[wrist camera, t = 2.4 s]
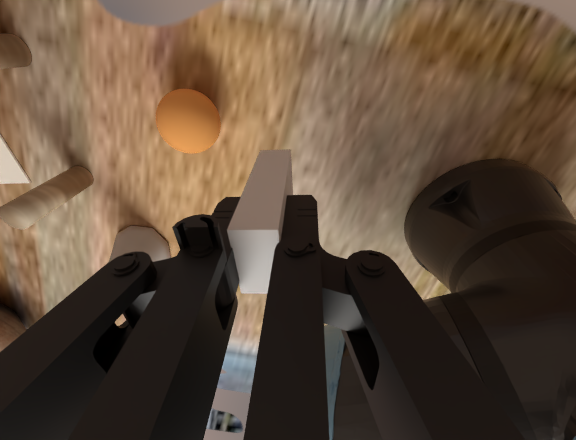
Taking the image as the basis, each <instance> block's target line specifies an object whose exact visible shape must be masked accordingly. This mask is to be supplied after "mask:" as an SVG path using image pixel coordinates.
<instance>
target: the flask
mask: <svg viewBox="0 0 576 440" xmlns="http://www.w3.org/2000/svg"><path fill="white" fill-rule="evenodd" d="M134 251H139V252H145V253H147V254H149V256H150V257H151V259H152V261H153V262H155V261H159V260H164V259H168V258H171V256H170V251H169V246H168V243H167V242H166V241H165V240H164V239H163V238H162V237H161V236H160V235H159V234H158V233H157V232H156V231H155V230H154V229H153V228H148V227H139V226H129V227H127V228H126V229H124V230H122V231H121V232H119V233H117V235H116V238H115V242H114V246H113V250H112V253H111V257H110V260H109V262H110V261H112V260H113V259H115V258H116V257H118V256H121V255H123V254H125V253H130V252H134Z"/></svg>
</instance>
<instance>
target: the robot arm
mask: <svg viewBox="0 0 576 440" xmlns="http://www.w3.org/2000/svg"><path fill="white" fill-rule="evenodd" d="M172 228H173V230H174V233H175V236H176V239H177V241H178V244H179V247H180V251H179V253H178V255H177V256H176V257H172V258H168V259H164V260H159V261H155V262H153V261H152V259H151V257H150V256H149V254H147V253H145V252H139V251H134V252H130V253H125V254H123V255H121V256H118V257H116V258H115V259H113V260H112V261H110V262H109V263H107V264H106V265H105V266H104V267H102V268H101V269H100V270H99V271H98V272H96V273H95V274H94V275H93V276H92V277H90V278H89V279H88V280H87V281H86V282H84V283H83V284H82V285H81V286H79V287H78V288H77V289H76V290H75V291H73V292H72V293H71V294H70V295H69V296H67V297H66V298H65V299H64V300H63V301H61V302H60V303H59V304H58V305H57V306H55V307H54V308H53V309H52V310H50V311H49V312H48V313H47V314H46V315H44V316H43V317H42V318H41V319H40V320H38V321H37V322H36V323H35V324H34V325H32V326H31V327H30V328H29V329H27V330H26V331H25V332H24V333H23V334H21V335H20V336H19V337H18V338H17V339H15V340H14V341H13V342H12V343H11V344H9V345H8V346H7V347H6V348H4V349H3V350H2V351H1V352H0V440H203V438H204V434H205V430H206V427H207V423H208V419H209V415H210V411H211V407H212V404H213V399H214V396H215V392H216V388H217V384H218V380H219V376H220V372H221V369H222V365H223V361H224V357H225V353H226V349H227V346H228V342H229V338H230V334H231V330H232V326H233V322H234V318H235V315H236V311H237V307H238V300H237V296H236V291H237V288H238V284H239V286H240V290H241V293H256V294H267V299H266V305H265V311H264V318H263V324H262V330H261V336H260V342H259V348H258V354H257V361H256V367H255V373H254V379H253V385H252V391H251V397H250V403H249V410H248V416H247V422H246V428H245V434H244V440H576V220H575V219H574V217H573V216H572V214H571V213H570V211H569V210H568V208H567V207H566V205H565V204H564V203H563V201H562V198H561V195H560V194H559V192H558V190H557V188H556V186H555V185H554V184H553V183H552V182H551V181H550V180H549V179H548V178H547V177H545V176H544V175H542V174H541V173H539V172H537V171H536V170H534V169H532V168H531V167H529V166H527V165H525V164H523V163H520V162H517V161H512V160H505V159H490V160H482V161H477V162H473V163H469V164H466V165H463V166H461V167H458V168H456V169H454V170H452V171H450V172H448V173H446V174H444V175H442V176H441V177H439V178H438V179H436V180H435V181H434V182H432V183H431V184H430V185H429V186H428V187H427V188H425V189H424V190H423V191H422V192H421V194H420V195H419V196H418V197H417V198H416V200H415V201H414V203H413V204H412V206H411V208H410V210H409V212H408V214H407V217H406V220H405V227H404V233H405V239H406V242H407V244H408V246H409V248H410V250H411V252H412V254H413V256H414V258H415V259H416V260H417V262H418V263H419V264H420V265H421V266H422V267H423V268H425V269H426V270H427V271H429V272H430V273H432V274H433V275H434V276H435V277H436V278H437V279H438V280H439V281H440V282H441V283H443V284H444V285H445V286H446V287H447V288H448V289H449V290H450V291H451V293H450V294H446V295H442V296H438V297H433V298H430V299H426V300H422V298H421V297H420V296H419V294H418V293H417V292H416V290H415V289H414V288H413V286H412V285H411V284H410V282H409V281H408V279H407V278H406V277H405V275H404V274H403V273H402V271H401V270H400V269H399V267H398V266H397V265H396V263H395V262H394V261H393V260H392V259H391V258H390V257H388V256H386V255H384V254H382V253H380V252H376V251H372V250H364V251H359V252H355V253H353V254H352V255H351V256H349V257H348V259H344V258H340V257H336V256H333V255H331V254H329V253H327V252H326V251H325V250H324V249H323V248H322V247H321V245H320V243H319V234H318V214H317V201H316V200H315V199H314V197H313V196H312V195H293V184H292V164H291V150H260V152H259V155H258V157H257V160H256V162H255V164H254V167H253V169H252V172H251V174H250V176H249V179H248V181H247V183H246V186H245V188H244V191H243V193H242V195H241V197H226V198H224V199H223V200H222V201H221V202H219V203H218V204H217V206H216V208H215V210H214V213H212V215H204V214H201V215H193V216H190V217H187V218H184V219H183V220H181V221H179V222H177V223H176V224H175V225H174V226H173V227H172ZM122 314H123V315H124V317H125V318H126V321H125V322H124V323H123V324H121V325H120V326H117V325H116V324H115V321H116V320H117V319H118V318H119V317H120V316H121V315H122ZM324 323H325V324H328V325H325V326H324Z"/></svg>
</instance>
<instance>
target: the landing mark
mask: <svg viewBox="0 0 576 440" xmlns="http://www.w3.org/2000/svg"><path fill="white" fill-rule="evenodd" d="M6 183H31V181H30V179H29V178H28V176H27V175H26V173H25V171H24V170H23V168H22V167H21V165H20V164H19V162H18V161H17V159H16V157H15V156H14V154H13V153H12V151H11V150H10V148H9V147H8V145H7V144H6V142H5V140H4V139H3V137H2V136H1V134H0V184H6Z"/></svg>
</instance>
